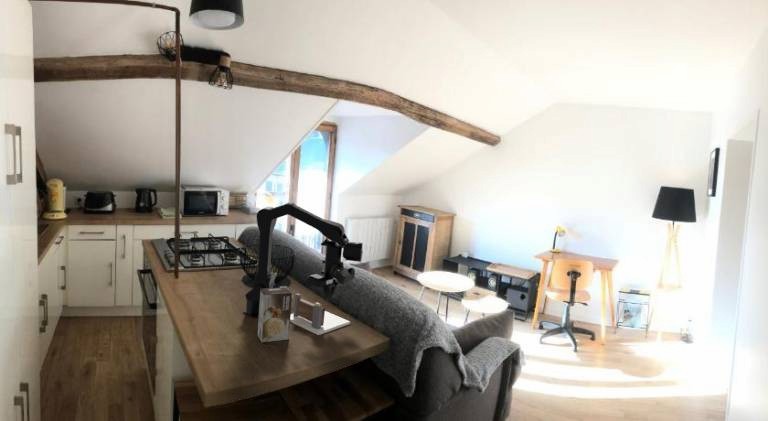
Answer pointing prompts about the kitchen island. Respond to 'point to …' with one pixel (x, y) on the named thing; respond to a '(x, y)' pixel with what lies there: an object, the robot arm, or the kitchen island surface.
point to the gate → (308, 310)
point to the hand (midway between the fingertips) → (328, 299)
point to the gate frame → (317, 319)
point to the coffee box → (274, 314)
